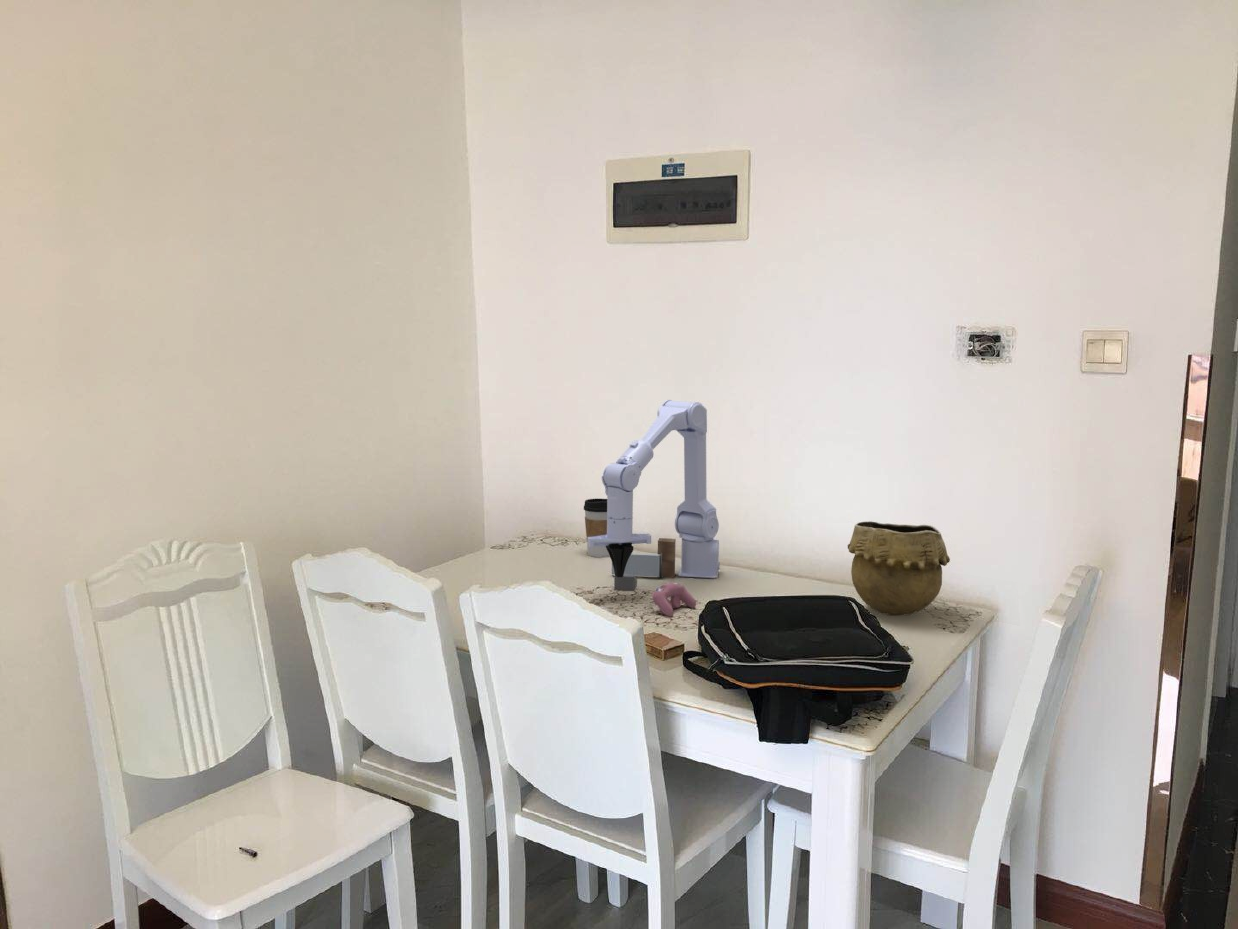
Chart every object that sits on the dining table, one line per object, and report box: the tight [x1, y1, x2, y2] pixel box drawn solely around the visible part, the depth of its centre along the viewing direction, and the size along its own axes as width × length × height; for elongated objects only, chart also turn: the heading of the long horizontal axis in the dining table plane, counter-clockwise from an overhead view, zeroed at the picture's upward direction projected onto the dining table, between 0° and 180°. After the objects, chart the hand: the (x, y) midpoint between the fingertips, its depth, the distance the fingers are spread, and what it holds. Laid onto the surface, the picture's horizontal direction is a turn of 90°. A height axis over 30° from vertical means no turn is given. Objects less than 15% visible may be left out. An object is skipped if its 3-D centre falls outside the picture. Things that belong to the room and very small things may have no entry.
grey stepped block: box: [613, 574, 638, 592], centre depth 227 cm, size 4×7×4 cm, turn 172°
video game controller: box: [651, 582, 697, 618], centre depth 209 cm, size 10×5×7 cm, turn 141°
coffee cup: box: [583, 498, 610, 558], centre depth 257 cm, size 8×8×15 cm
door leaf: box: [611, 552, 660, 578], centre depth 235 cm, size 12×2×5 cm, turn 81°
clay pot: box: [847, 520, 951, 617], centre depth 207 cm, size 21×21×20 cm
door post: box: [657, 537, 677, 579], centre depth 236 cm, size 4×5×9 cm
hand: (618, 576), depth 217 cm, fingers closed
